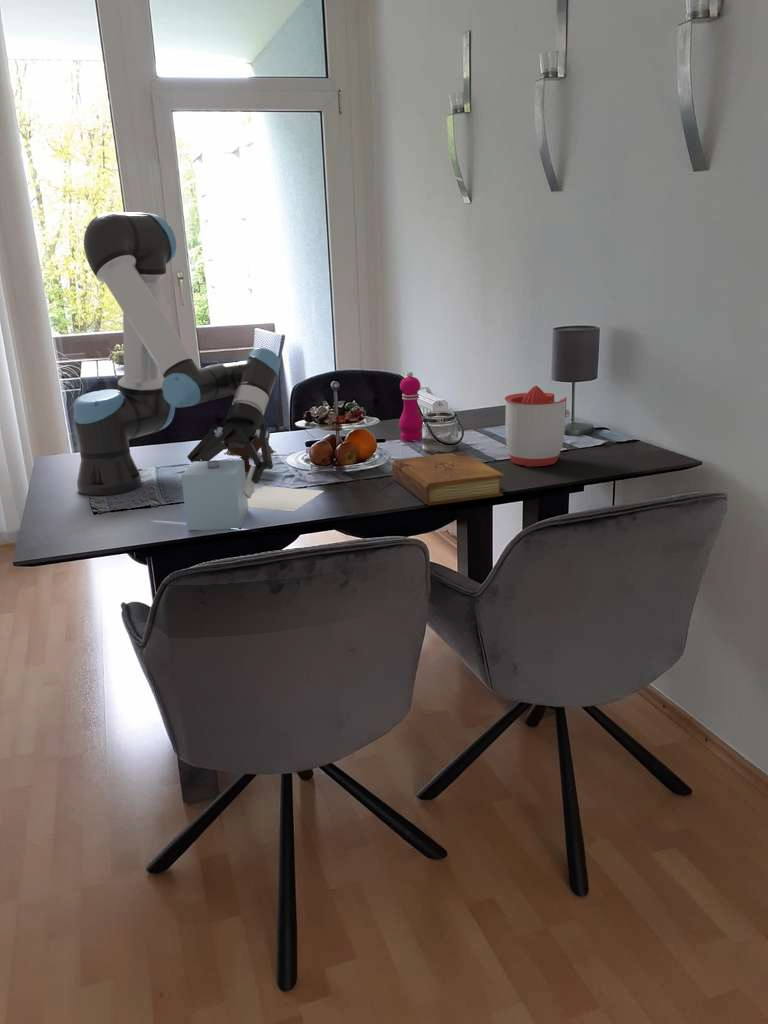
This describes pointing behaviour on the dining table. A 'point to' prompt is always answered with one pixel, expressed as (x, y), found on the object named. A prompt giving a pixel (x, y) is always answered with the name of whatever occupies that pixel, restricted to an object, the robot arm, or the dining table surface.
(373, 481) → the dining table surface
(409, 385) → the pepper mill
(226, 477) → the cover
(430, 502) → the diary
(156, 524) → the dining table surface
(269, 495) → the mat
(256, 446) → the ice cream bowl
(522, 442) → the citrus juicer
